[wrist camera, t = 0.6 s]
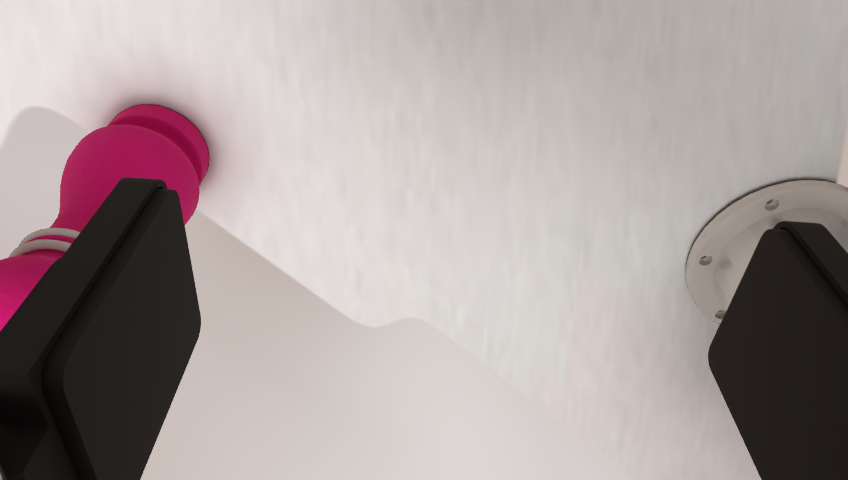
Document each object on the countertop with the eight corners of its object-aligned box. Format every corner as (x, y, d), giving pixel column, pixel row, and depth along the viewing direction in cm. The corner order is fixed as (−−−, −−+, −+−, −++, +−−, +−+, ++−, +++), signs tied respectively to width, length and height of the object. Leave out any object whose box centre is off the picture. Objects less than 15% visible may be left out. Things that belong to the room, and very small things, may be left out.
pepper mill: (186, 215, 44) (42, 474, 28) (83, 156, 42) (-142, 404, 25) (238, 141, 41) (109, 386, 25) (129, 72, 38) (-95, 295, 22)
